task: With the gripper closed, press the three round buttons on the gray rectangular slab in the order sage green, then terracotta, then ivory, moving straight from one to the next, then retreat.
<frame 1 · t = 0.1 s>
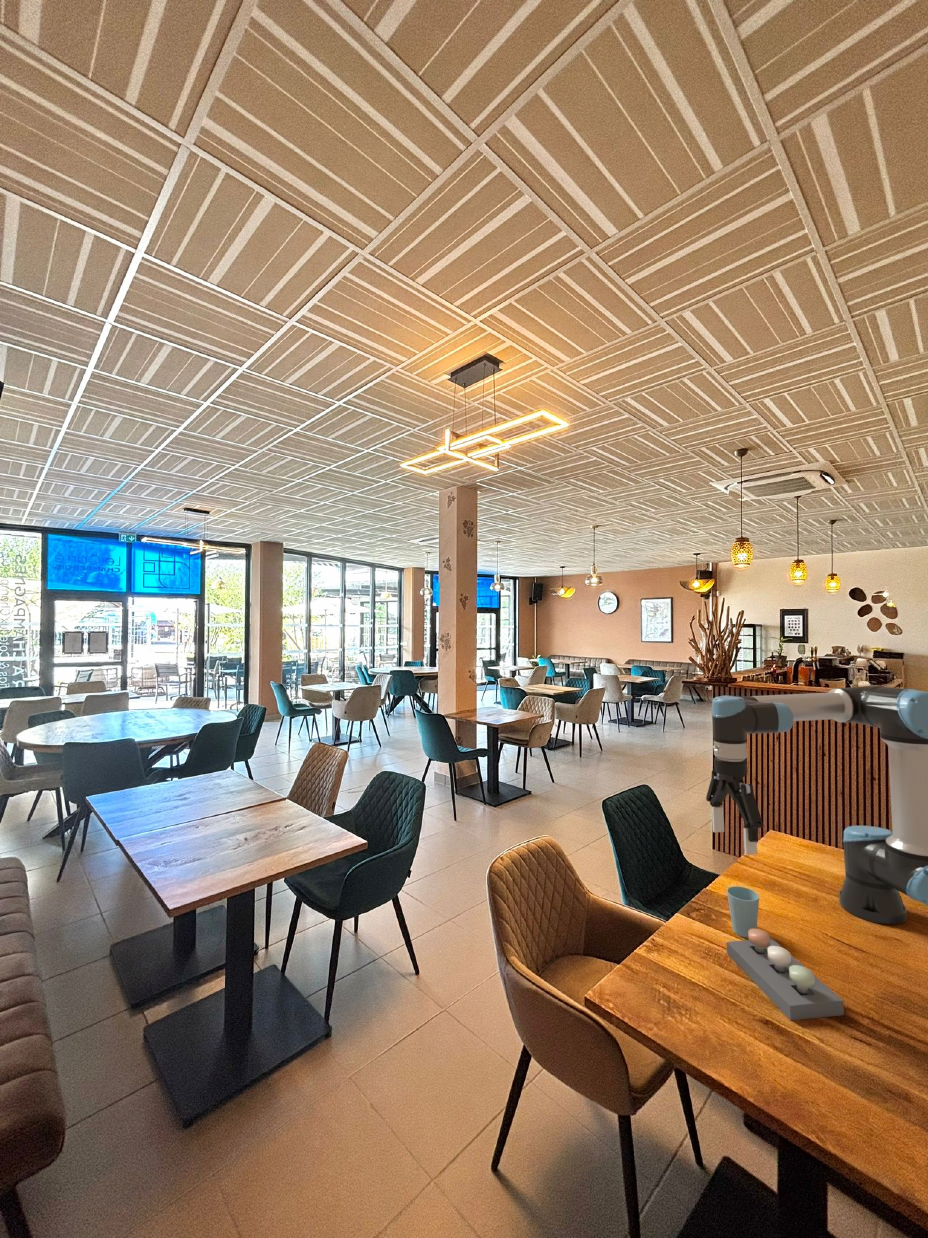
hand: (733, 842, 128), 28 cm above the table, fingers open, 13 cm apart
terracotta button: (759, 942, 124), point 5 cm above the table, slide at 0.0 cm
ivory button: (779, 960, 117), point 5 cm above the table, slide at 0.0 cm
cup: (744, 933, 136), on the table
gray rectangular slab: (780, 982, 117), on the table
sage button: (802, 981, 110), point 5 cm above the table, slide at 0.0 cm
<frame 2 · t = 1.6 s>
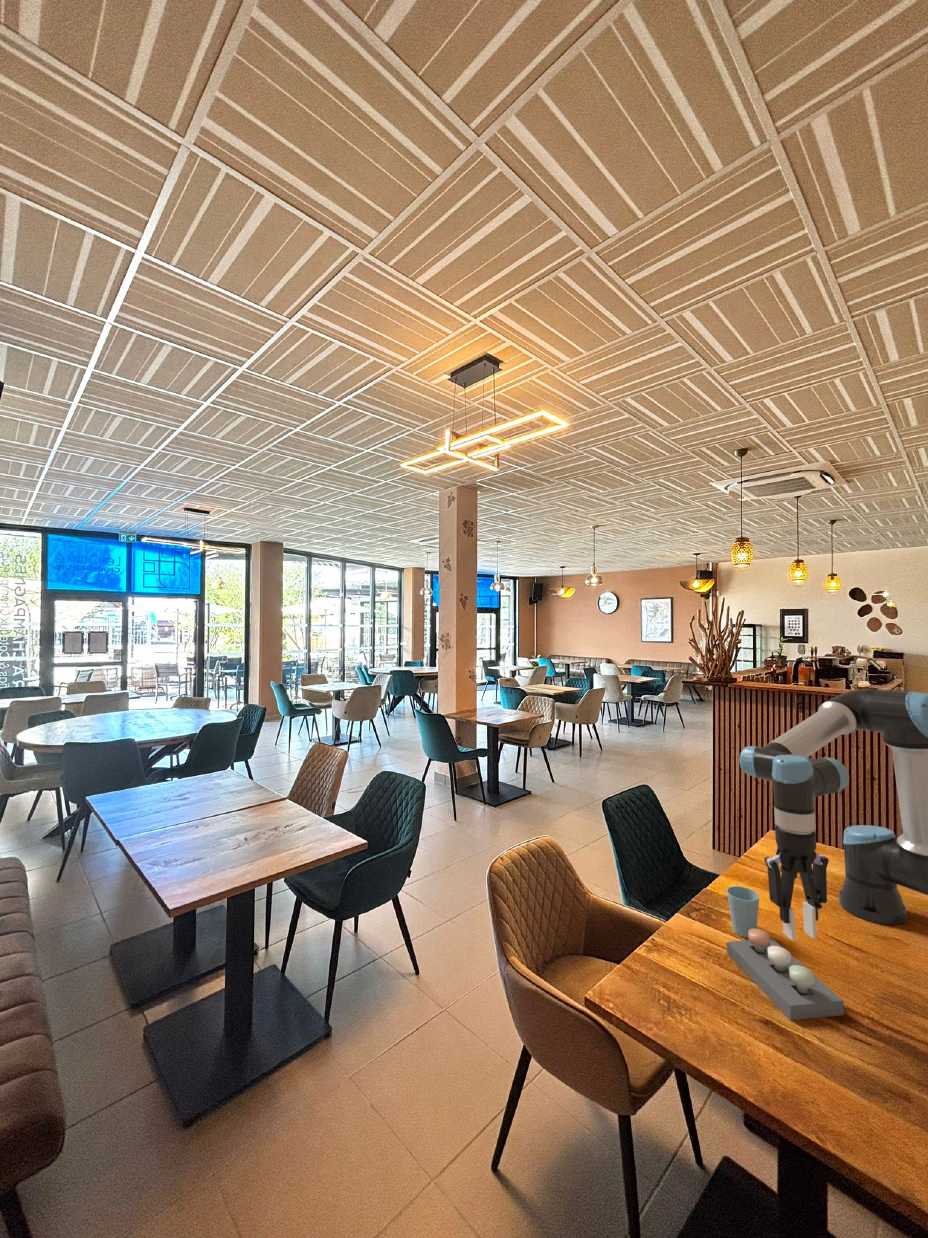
hand: (799, 935, 111), 15 cm above the table, fingers open, 4 cm apart
nothing on the table moved.
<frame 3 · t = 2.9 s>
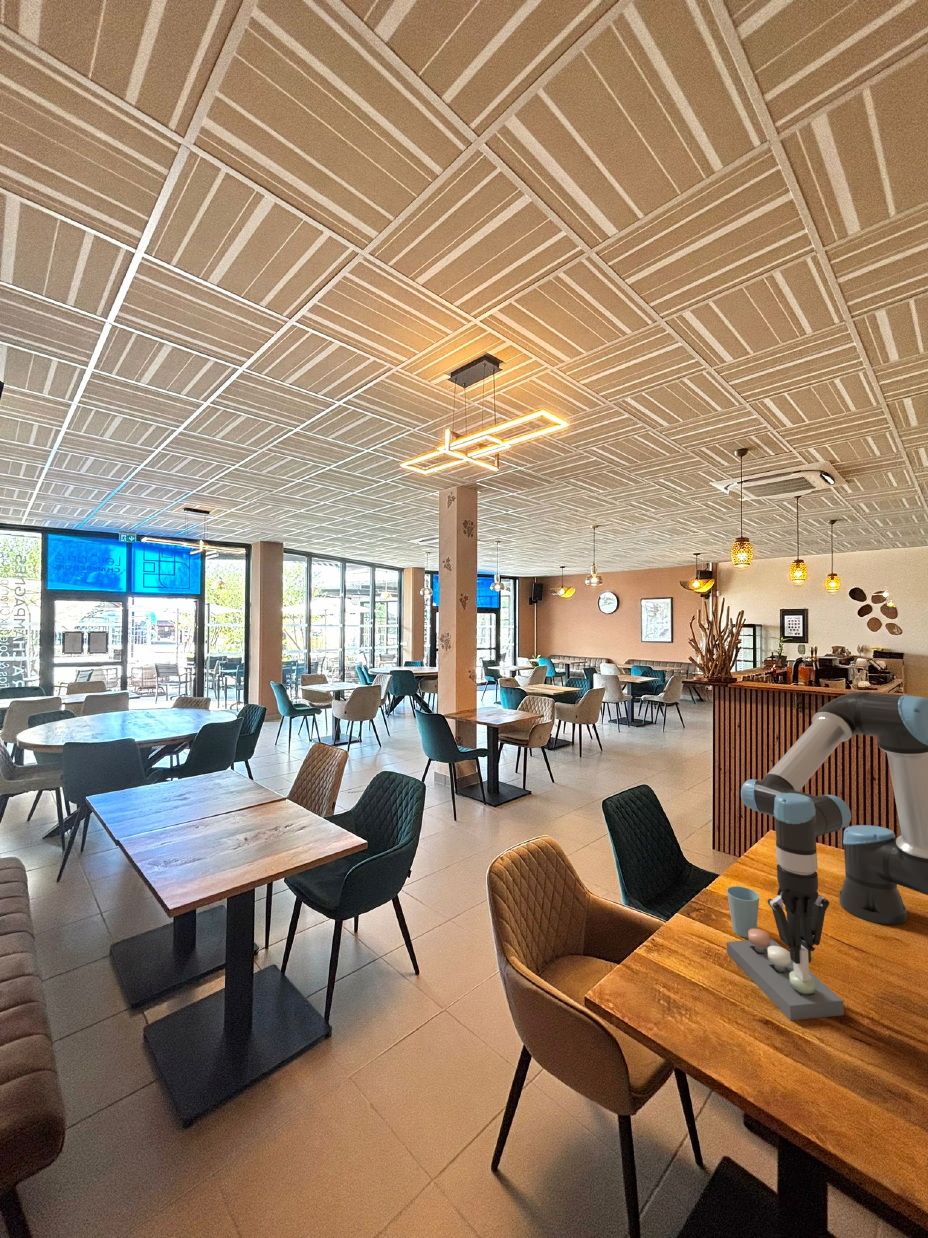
hand: (801, 977, 110), 6 cm above the table, fingers closed
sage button: (802, 987, 110), point 4 cm above the table, slide at 1.2 cm, touching gripper
everything else where it was.
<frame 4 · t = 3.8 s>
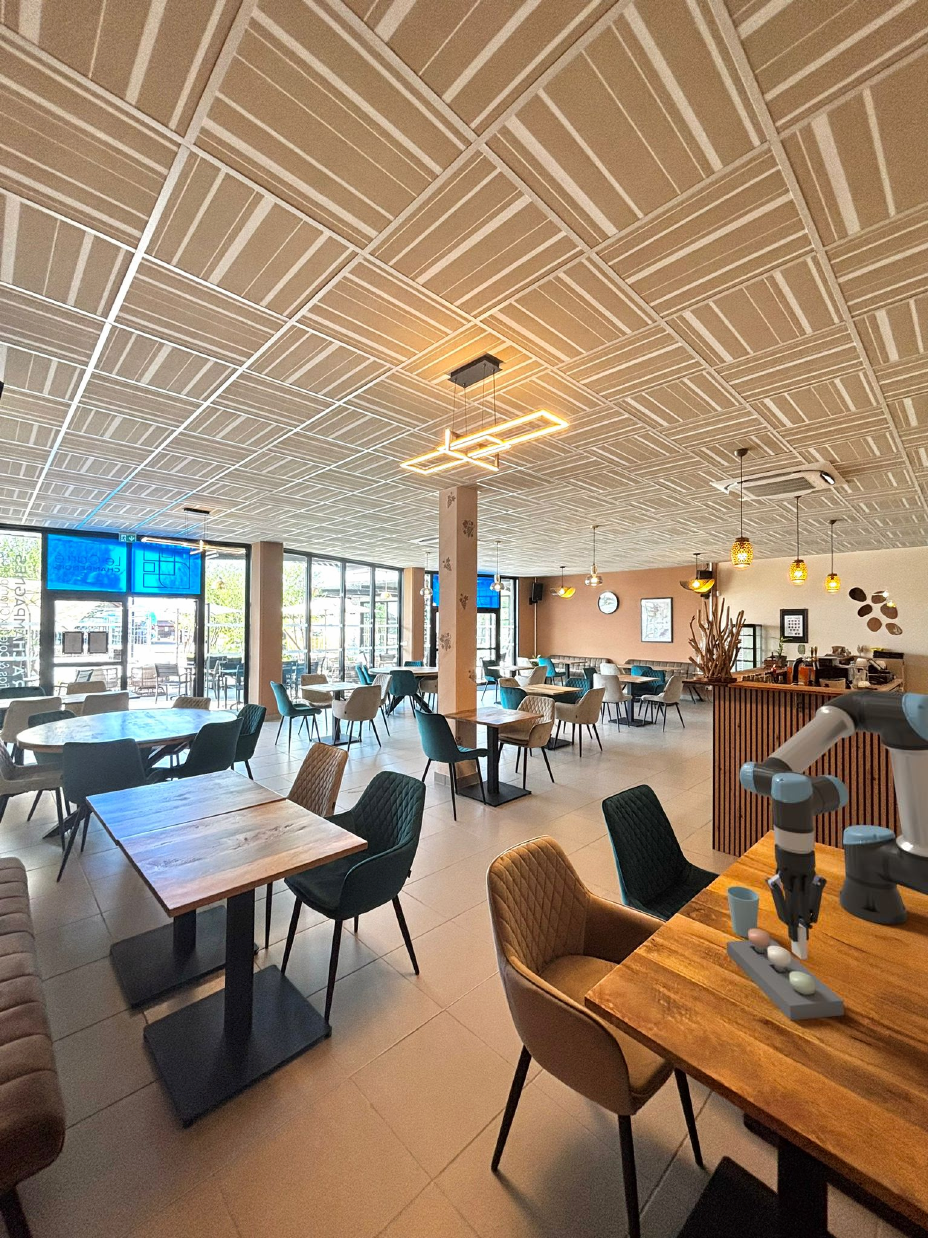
hand: (799, 955, 111), 10 cm above the table, fingers closed
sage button: (802, 987, 110), point 3 cm above the table, slide at 1.3 cm
everything else where it was.
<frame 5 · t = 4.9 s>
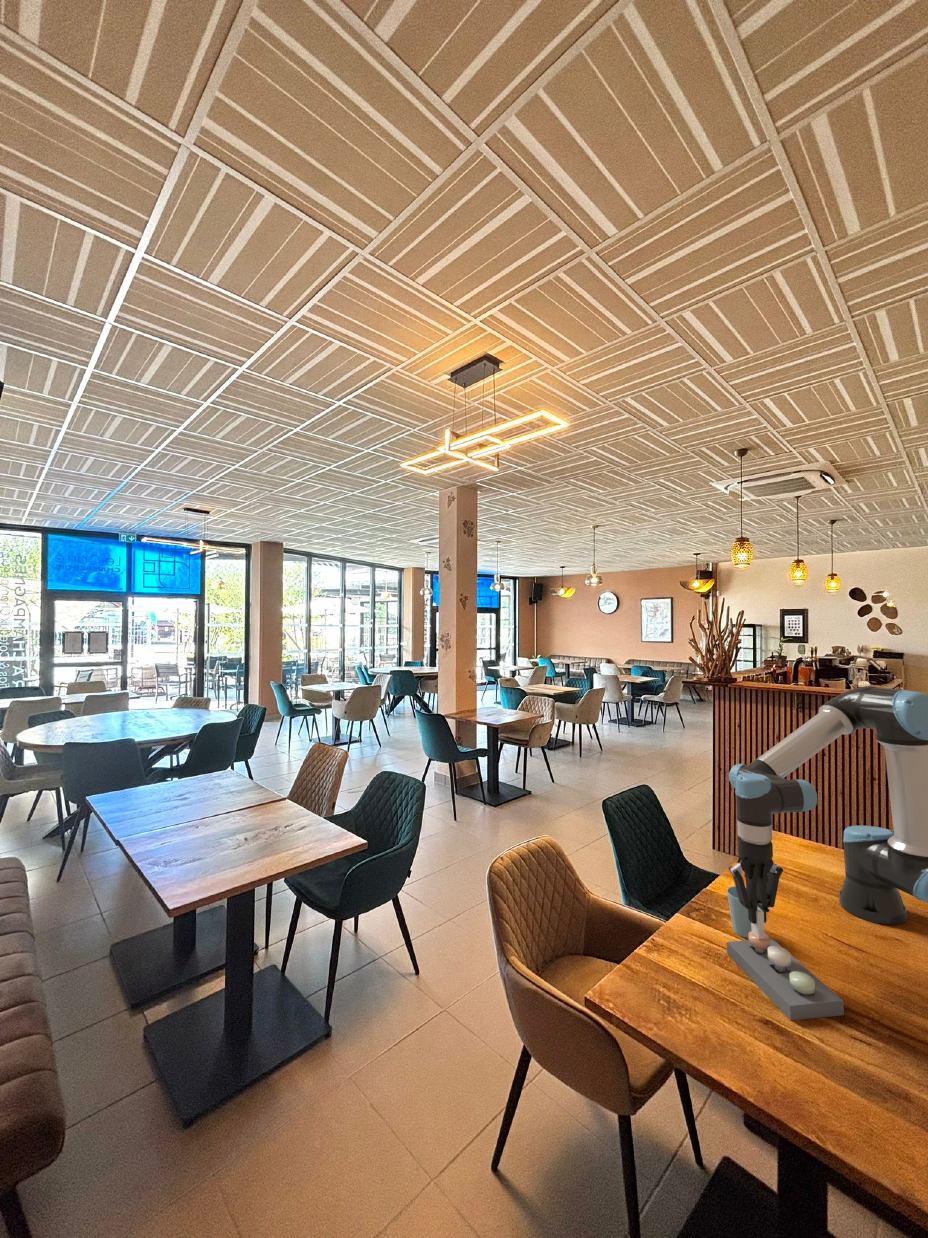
hand: (758, 935, 124), 7 cm above the table, fingers closed
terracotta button: (759, 944, 124), point 4 cm above the table, slide at 0.6 cm, touching gripper
everything else where it was.
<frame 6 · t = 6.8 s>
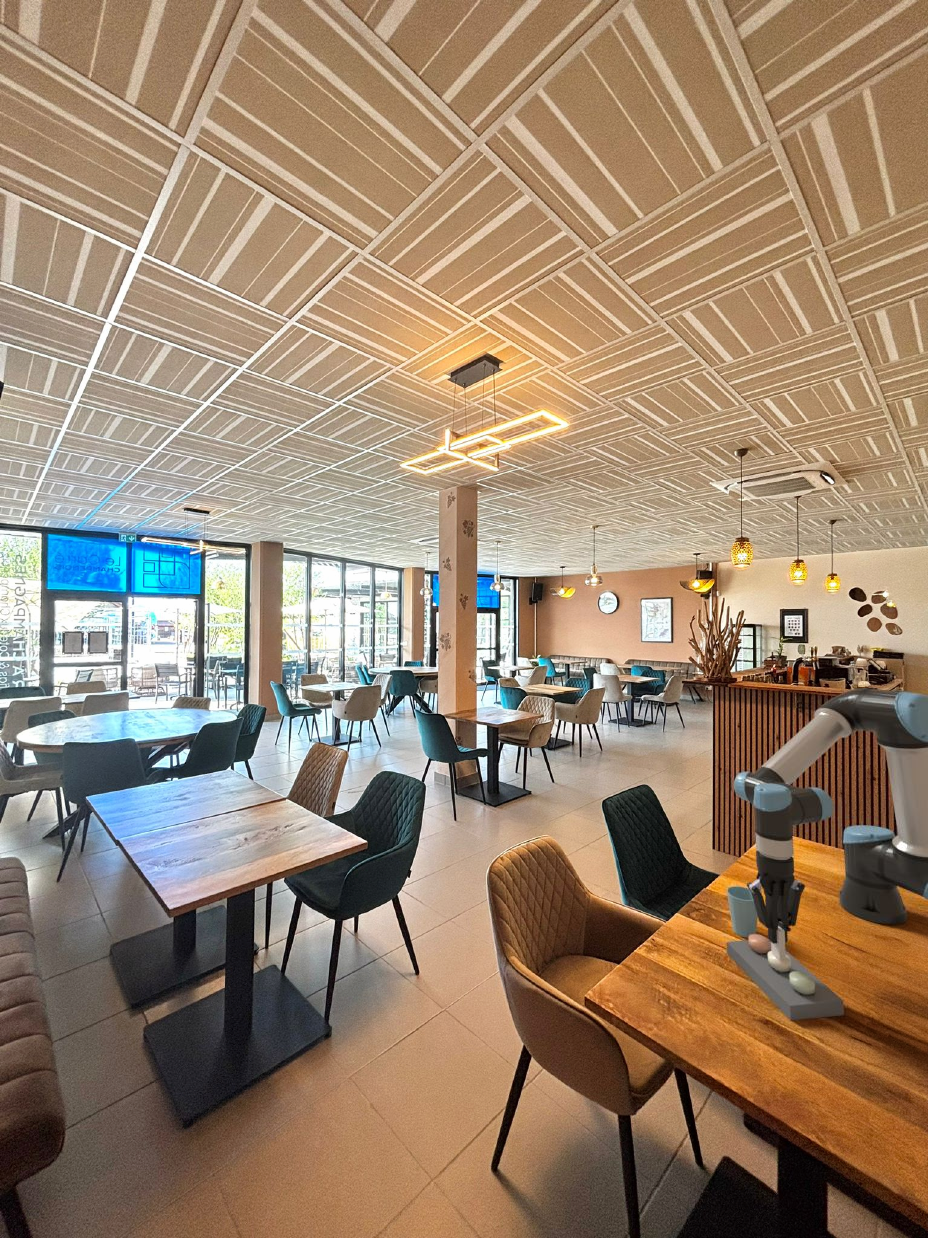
hand: (778, 956, 117), 6 cm above the table, fingers closed
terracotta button: (759, 948, 124), point 3 cm above the table, slide at 1.4 cm
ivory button: (779, 965, 117), point 4 cm above the table, slide at 1.1 cm, touching gripper
everything else where it was.
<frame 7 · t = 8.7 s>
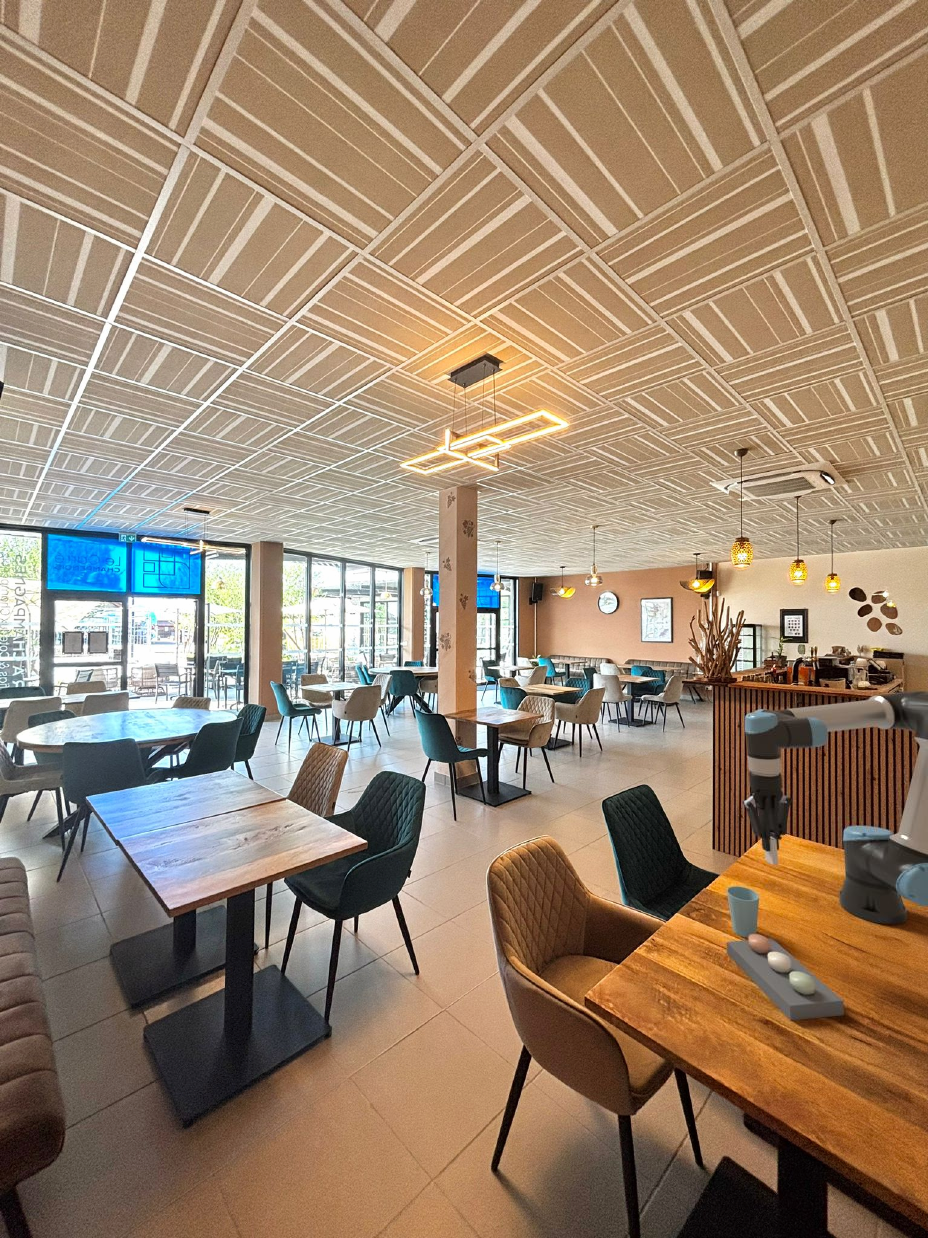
hand: (771, 862, 133), 20 cm above the table, fingers closed
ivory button: (779, 966, 117), point 3 cm above the table, slide at 1.4 cm
everything else where it was.
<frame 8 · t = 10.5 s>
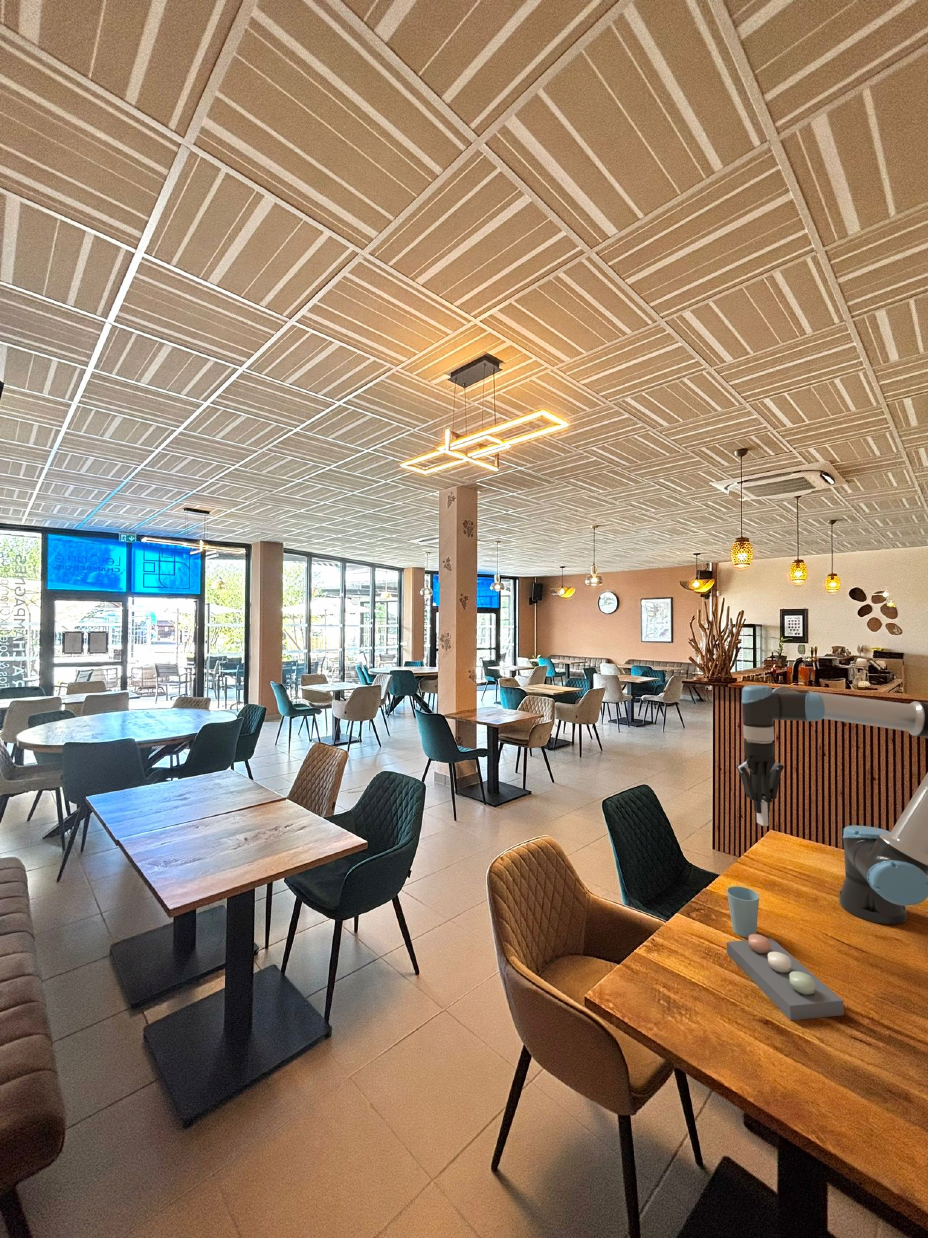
hand: (762, 824, 143), 26 cm above the table, fingers closed
nothing on the table moved.
at the end: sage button slide at 1.3 cm; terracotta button slide at 1.4 cm; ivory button slide at 1.4 cm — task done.
